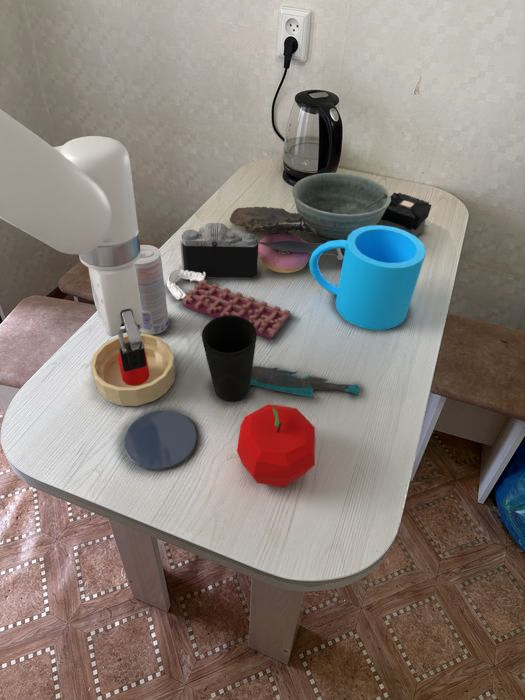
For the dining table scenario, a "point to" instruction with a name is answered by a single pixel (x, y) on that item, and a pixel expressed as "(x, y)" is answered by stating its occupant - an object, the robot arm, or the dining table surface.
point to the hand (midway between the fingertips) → (126, 346)
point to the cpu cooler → (406, 213)
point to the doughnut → (282, 254)
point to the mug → (374, 275)
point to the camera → (219, 252)
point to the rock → (270, 220)
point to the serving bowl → (111, 378)
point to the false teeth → (179, 273)
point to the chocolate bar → (236, 308)
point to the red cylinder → (134, 374)
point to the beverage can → (151, 290)
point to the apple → (276, 445)
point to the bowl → (339, 203)
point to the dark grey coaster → (160, 440)
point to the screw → (377, 200)
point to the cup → (230, 355)
